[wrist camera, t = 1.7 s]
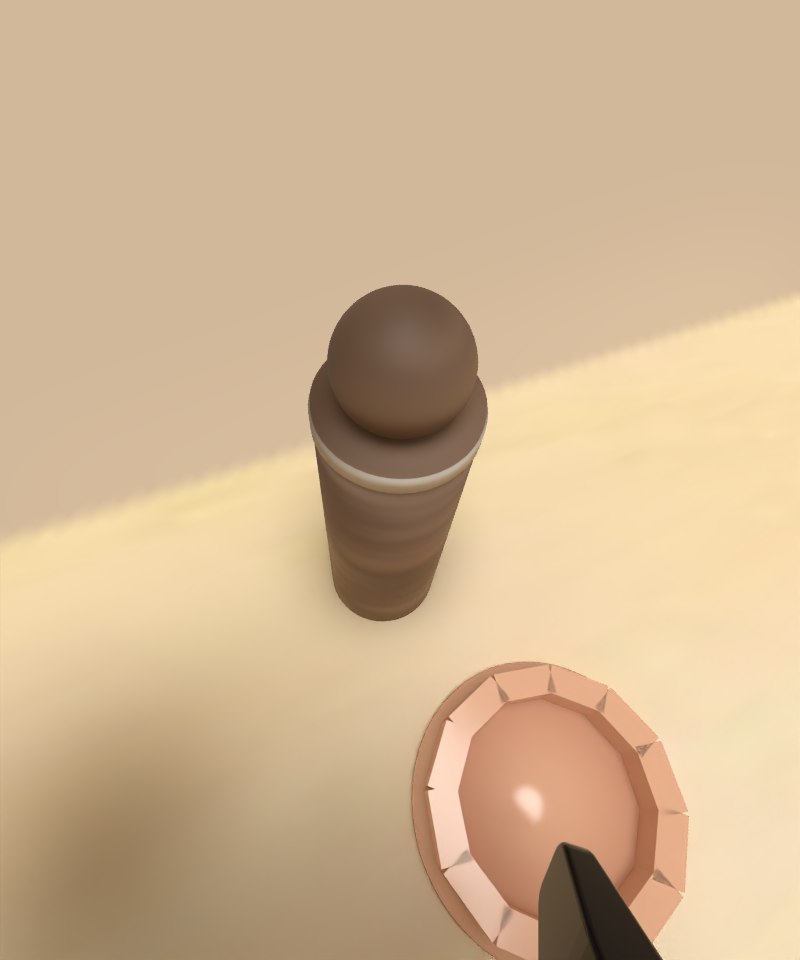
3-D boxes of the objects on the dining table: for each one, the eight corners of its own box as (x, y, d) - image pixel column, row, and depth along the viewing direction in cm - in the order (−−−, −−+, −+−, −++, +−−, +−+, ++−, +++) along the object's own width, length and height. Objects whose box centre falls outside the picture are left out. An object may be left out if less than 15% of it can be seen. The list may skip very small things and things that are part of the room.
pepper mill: (453, 579, 23) (566, 322, 10) (374, 644, 22) (394, 434, 9) (389, 508, 25) (419, 211, 12) (311, 564, 23) (249, 287, 10)
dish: (725, 817, 19) (757, 820, 18) (555, 1064, 16) (576, 1095, 14) (533, 616, 23) (546, 604, 21) (358, 782, 19) (357, 781, 17)
